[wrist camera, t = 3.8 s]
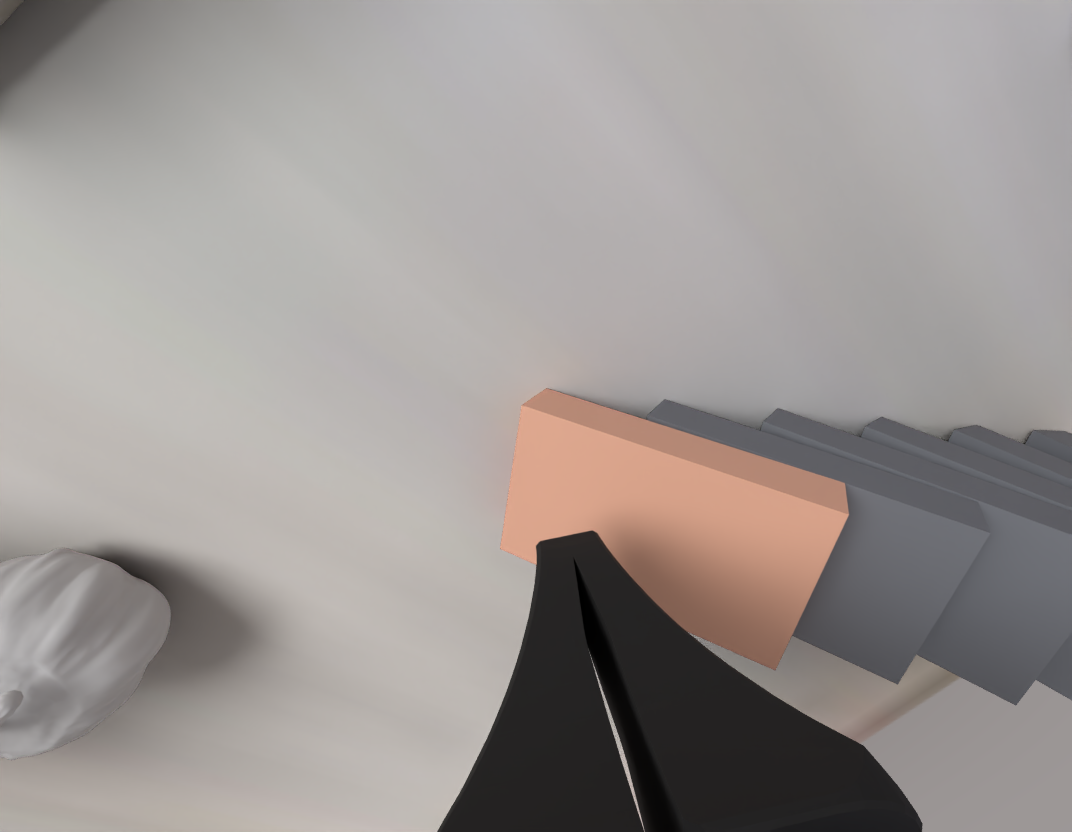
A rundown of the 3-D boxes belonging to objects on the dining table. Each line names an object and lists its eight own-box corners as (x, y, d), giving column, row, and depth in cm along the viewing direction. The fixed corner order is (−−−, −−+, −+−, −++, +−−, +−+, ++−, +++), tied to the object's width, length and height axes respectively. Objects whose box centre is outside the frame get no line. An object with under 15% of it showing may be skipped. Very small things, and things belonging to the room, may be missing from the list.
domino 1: (546, 388, 16) (844, 482, 13) (523, 522, 18) (778, 629, 15) (522, 405, 14) (848, 514, 12) (500, 549, 16) (775, 670, 14)
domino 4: (881, 416, 18) (1248, 555, 13) (826, 535, 20) (1124, 696, 15) (865, 426, 17) (1257, 581, 12) (809, 550, 19) (1123, 729, 14)
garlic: (134, 492, 16) (-5, 637, 11) (227, 622, 18) (146, 785, 13) (-68, 549, 16) (-293, 718, 11) (53, 671, 18) (-88, 851, 13)
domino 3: (778, 408, 17) (1114, 526, 13) (732, 531, 19) (1012, 667, 15) (763, 421, 16) (1129, 556, 12) (716, 551, 18) (1015, 705, 14)
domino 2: (664, 399, 16) (977, 501, 13) (630, 528, 18) (894, 644, 15) (647, 415, 15) (990, 533, 12) (612, 551, 17) (897, 684, 14)
